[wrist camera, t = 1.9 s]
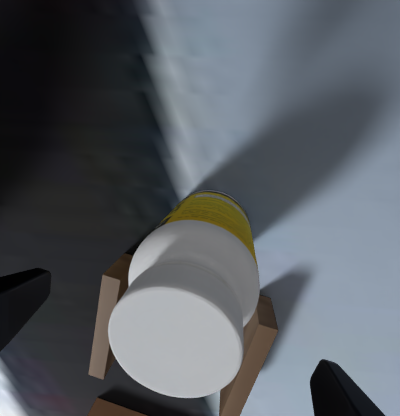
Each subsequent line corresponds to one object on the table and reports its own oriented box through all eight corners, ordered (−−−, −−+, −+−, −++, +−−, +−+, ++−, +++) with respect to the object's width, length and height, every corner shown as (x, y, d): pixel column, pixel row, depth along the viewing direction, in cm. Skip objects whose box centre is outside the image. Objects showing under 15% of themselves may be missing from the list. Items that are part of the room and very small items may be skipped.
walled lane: (109, 341, 20) (88, 374, 17) (124, 253, 17) (102, 274, 14) (234, 383, 19) (234, 425, 16) (270, 298, 16) (278, 330, 13)
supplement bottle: (183, 177, 15) (100, 230, 6) (261, 203, 15) (311, 305, 5) (163, 247, 17) (73, 378, 7) (233, 271, 16) (234, 442, 7)
